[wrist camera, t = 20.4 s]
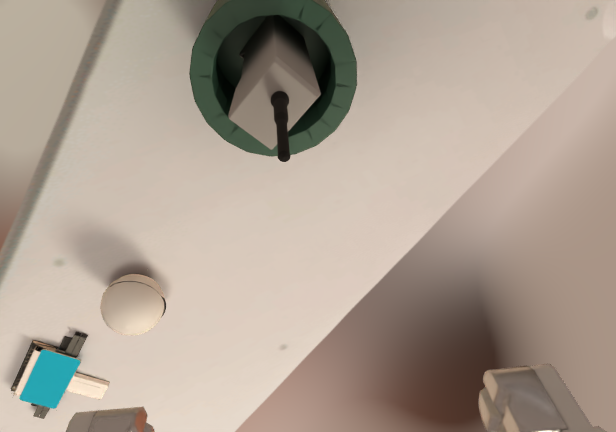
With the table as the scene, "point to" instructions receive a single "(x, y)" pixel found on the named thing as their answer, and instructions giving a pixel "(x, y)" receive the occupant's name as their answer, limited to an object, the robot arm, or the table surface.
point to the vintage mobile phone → (274, 84)
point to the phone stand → (54, 375)
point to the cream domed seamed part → (132, 304)
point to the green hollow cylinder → (228, 64)
